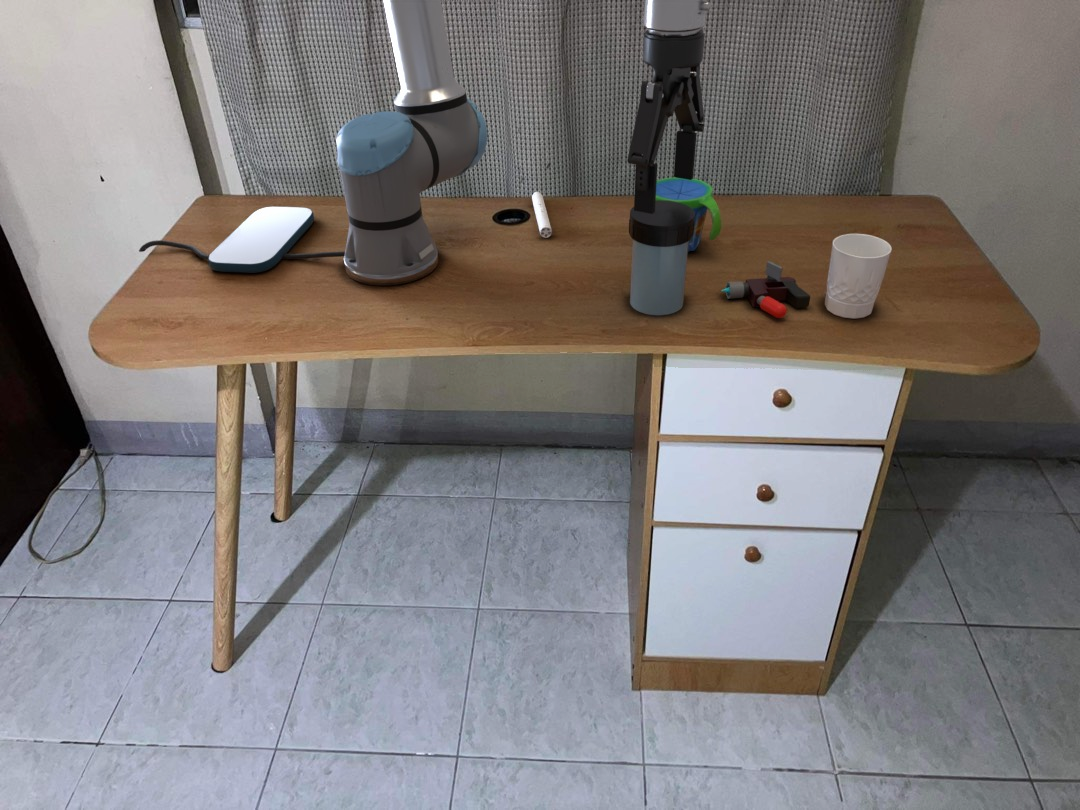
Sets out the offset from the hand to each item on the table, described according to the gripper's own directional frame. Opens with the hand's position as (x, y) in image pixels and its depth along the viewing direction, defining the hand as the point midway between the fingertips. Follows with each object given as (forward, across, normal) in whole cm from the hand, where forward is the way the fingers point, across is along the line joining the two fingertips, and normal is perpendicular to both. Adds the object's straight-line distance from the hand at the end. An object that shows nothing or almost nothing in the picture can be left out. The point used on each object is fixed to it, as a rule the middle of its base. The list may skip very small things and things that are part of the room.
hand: (664, 194), depth 115 cm
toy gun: (+17, +6, -14) cm, 23 cm away
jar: (+17, 0, 0) cm, 17 cm away
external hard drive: (+17, -12, +69) cm, 72 cm away
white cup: (+17, +11, -25) cm, 33 cm away
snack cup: (+17, +20, +5) cm, 27 cm away
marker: (+17, +20, +32) cm, 41 cm away
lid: (+3, 0, 0) cm, 3 cm away
